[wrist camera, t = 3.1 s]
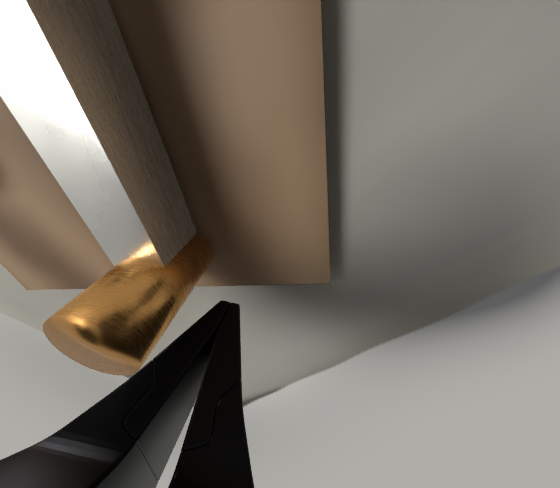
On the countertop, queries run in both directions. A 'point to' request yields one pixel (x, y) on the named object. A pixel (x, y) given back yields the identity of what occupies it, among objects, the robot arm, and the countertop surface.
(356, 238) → the countertop surface
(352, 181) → the countertop surface
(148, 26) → the board
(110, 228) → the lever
